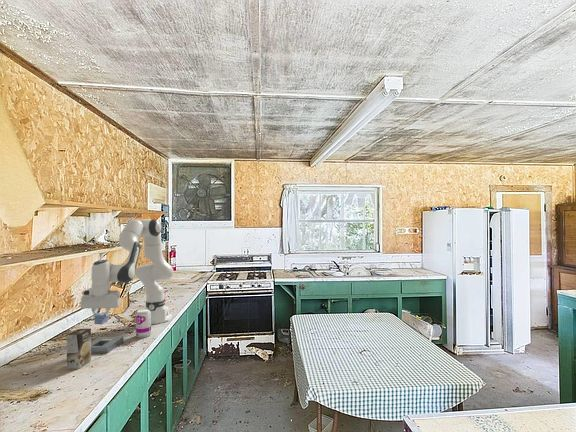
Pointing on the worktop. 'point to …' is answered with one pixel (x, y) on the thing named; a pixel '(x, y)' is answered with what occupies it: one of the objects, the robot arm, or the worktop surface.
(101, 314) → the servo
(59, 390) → the worktop surface
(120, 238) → the robot arm
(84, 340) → the coffee box
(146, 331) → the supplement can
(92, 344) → the plate
